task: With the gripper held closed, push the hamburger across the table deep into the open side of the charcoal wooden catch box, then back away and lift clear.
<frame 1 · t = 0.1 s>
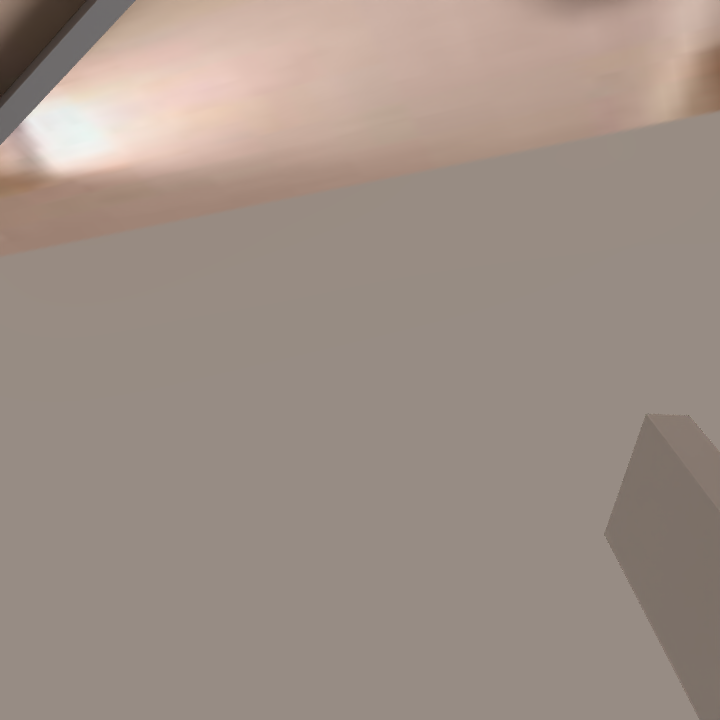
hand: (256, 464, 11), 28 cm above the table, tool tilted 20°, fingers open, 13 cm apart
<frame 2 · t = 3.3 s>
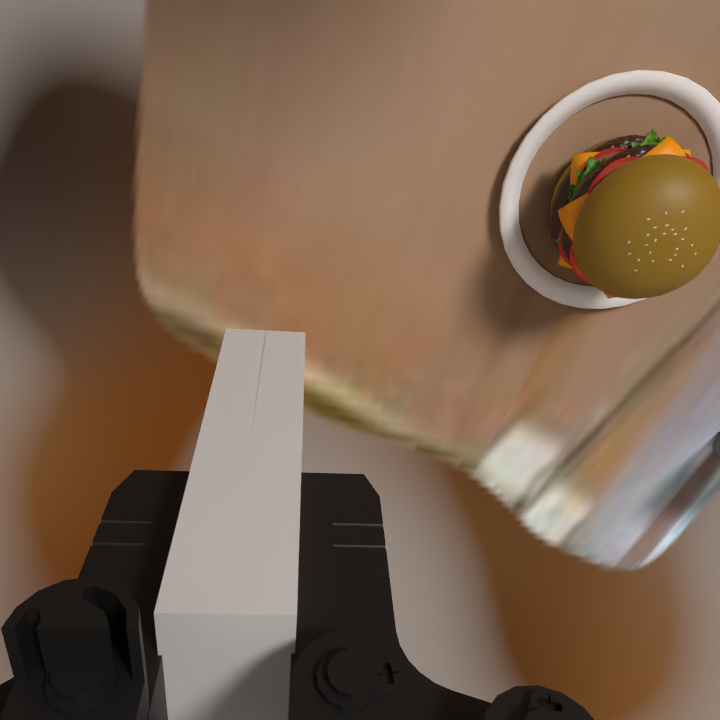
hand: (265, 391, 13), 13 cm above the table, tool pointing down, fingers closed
hamburger: (606, 190, 26), on the table
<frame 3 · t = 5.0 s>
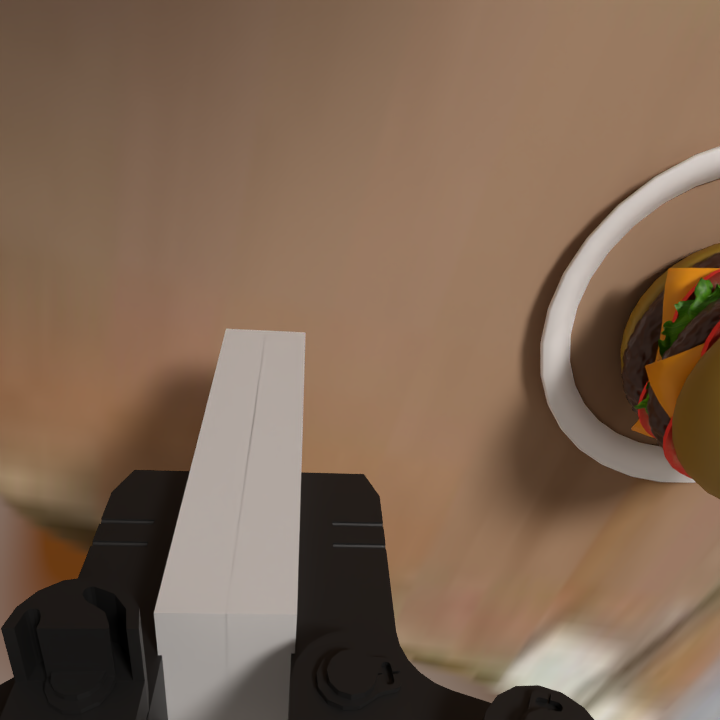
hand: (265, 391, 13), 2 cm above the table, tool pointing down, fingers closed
hamburger: (704, 309, 17), on the table
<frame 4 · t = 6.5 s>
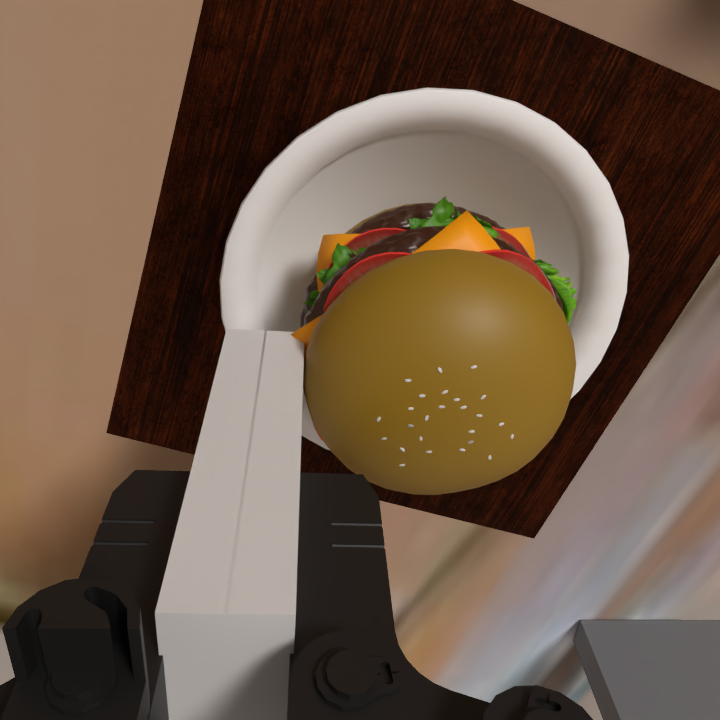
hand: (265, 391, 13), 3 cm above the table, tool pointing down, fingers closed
hamburger: (418, 282, 16), on the table
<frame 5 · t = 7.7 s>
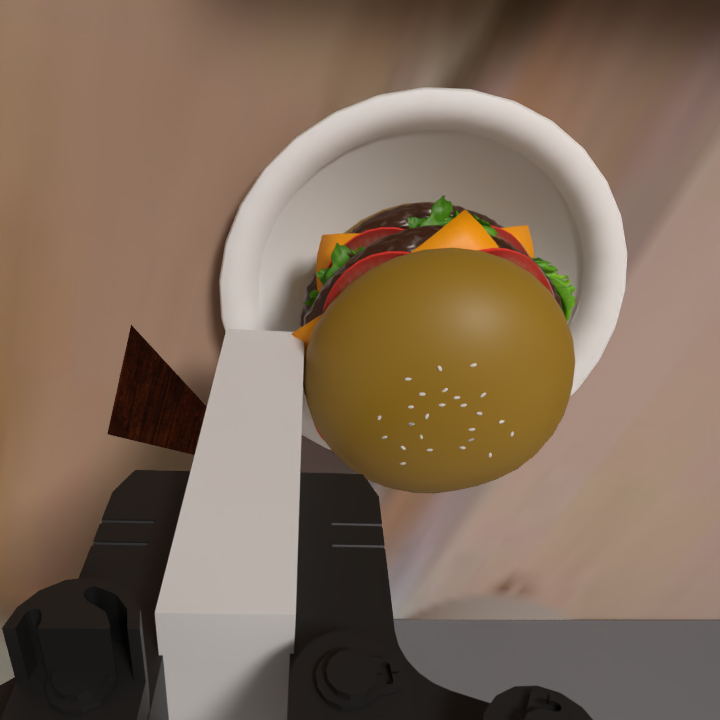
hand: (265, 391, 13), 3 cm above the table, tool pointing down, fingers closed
hamburger: (417, 281, 16), on the table, touching gripper
catch box: (667, 338, 16), on the table
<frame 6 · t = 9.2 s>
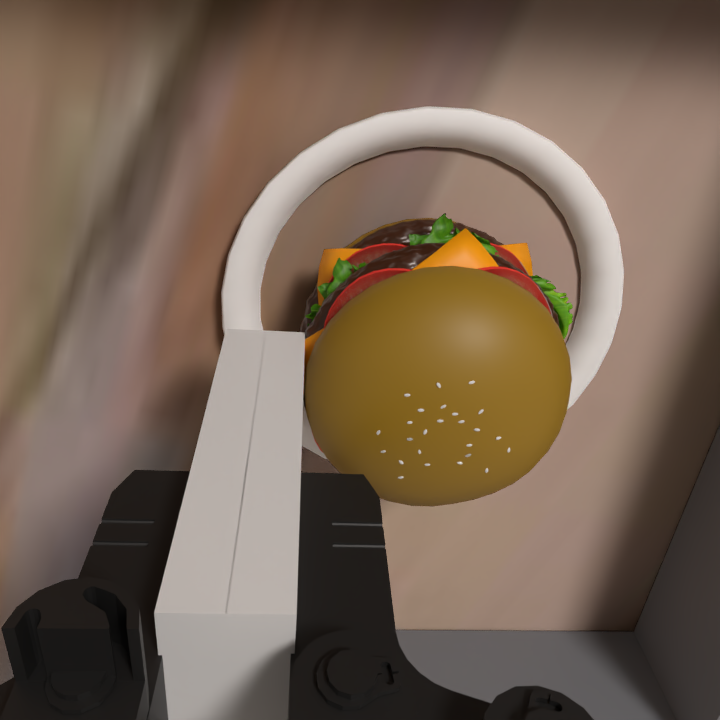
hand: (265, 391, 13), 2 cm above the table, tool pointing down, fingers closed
hamburger: (416, 295, 16), on the table, touching gripper
catch box: (445, 342, 16), on the table
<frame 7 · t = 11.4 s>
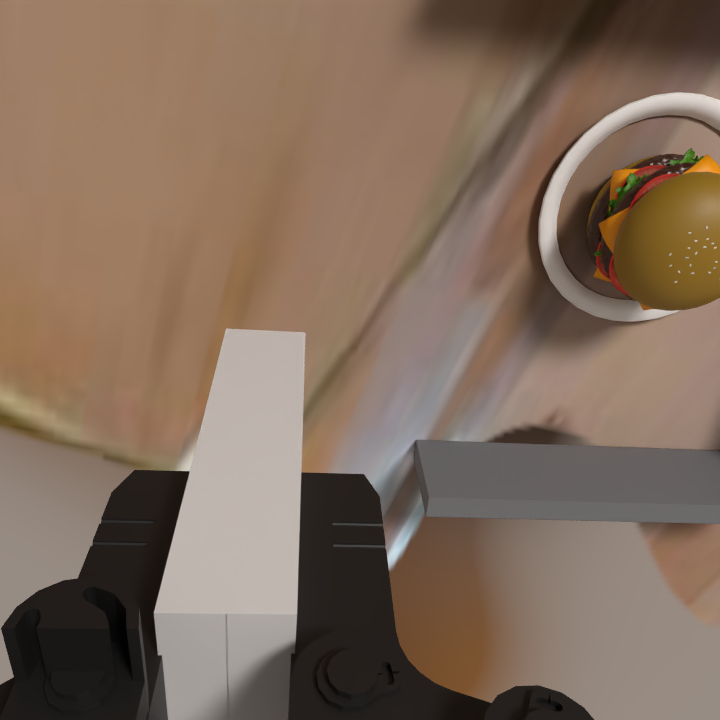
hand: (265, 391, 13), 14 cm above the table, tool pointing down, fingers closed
hamburger: (640, 207, 27), on the table
catch box: (658, 239, 27), on the table
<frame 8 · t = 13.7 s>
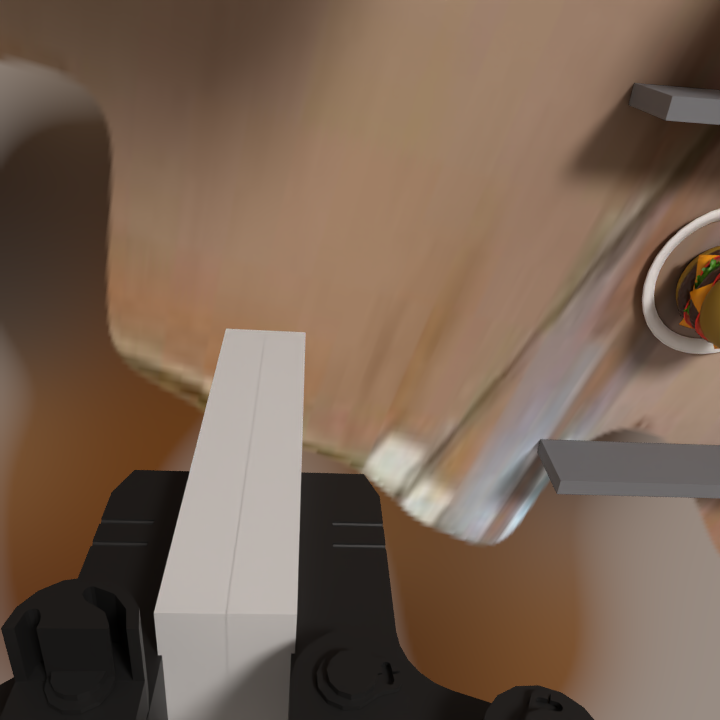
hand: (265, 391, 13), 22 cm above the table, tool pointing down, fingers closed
hamburger: (710, 275, 38), on the table
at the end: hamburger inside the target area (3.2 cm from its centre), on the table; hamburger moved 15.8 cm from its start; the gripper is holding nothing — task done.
